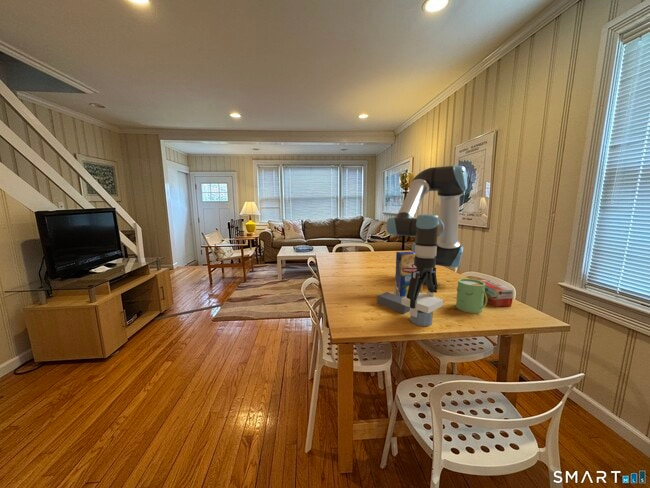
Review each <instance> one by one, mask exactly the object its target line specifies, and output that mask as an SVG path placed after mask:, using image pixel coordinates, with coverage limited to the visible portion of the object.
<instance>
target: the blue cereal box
mask: <svg viewBox="0 0 650 488" xmlns="http://www.w3.org/2000/svg"><path fill="white" fill-rule="evenodd" d="M395 255H396V257H395V275H394V276H395V277H394V279H395V280H394V295H398V296H401V297H406V296H407V293H408V289H409V285H410V280H411V273H412V272H416V271H417V267H416V266H415V265H414V257H415V256H416V255H415V251H396V253H395ZM419 293H423V286H422V287H421V289H420V292H419Z"/></svg>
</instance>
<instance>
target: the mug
mask: <svg viewBox="0 0 650 488" xmlns="http://www.w3.org/2000/svg"><path fill="white" fill-rule="evenodd" d="M479 280H480V279H474V278H459V279H458V280H457V288H456V302H455V307H456V309H458V310H459V311H462V312H465V313H470V314H481V313H482V312H483V309H484V308H485V307H486V306H487V304H488V303H487V296H486V293H485V292H484V291H485V283H484V282H482V281H479ZM484 295H485V299H486V301H484Z"/></svg>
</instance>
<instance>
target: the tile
mask: <svg viewBox="0 0 650 488" xmlns="http://www.w3.org/2000/svg"><path fill="white" fill-rule="evenodd" d="M417 300H418V310H419V311H422V312H425V313H430V312H432V311H433V312H434V311H436V310H438V309H440V308H441V307H443V306H444V299H443V298H439V297H436V296H434V297H433V296H429V295H427V293H423V292H422V293H419V295H418V297H417ZM401 304H402V305H405V306H408V307H410V299H408V298H407V296H406V297H403V298H402V301H401Z"/></svg>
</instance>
